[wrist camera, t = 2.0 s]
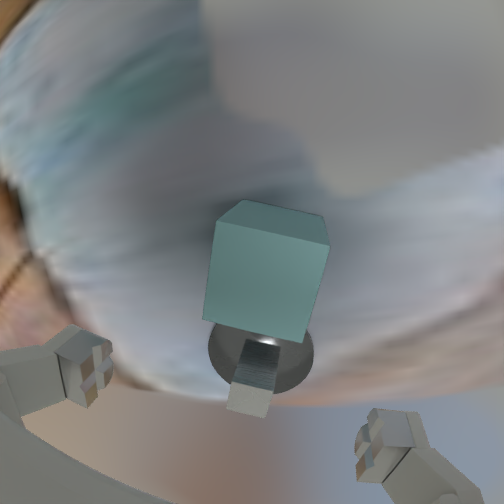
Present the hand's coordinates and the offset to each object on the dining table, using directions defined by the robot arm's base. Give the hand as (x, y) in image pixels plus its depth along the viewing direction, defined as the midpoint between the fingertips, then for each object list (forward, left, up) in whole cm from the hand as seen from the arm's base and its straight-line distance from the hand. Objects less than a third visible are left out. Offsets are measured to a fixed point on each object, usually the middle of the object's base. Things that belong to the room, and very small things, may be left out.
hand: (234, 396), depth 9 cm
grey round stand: (+5, -6, -14) cm, 16 cm away
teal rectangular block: (-1, 0, -14) cm, 14 cm away
